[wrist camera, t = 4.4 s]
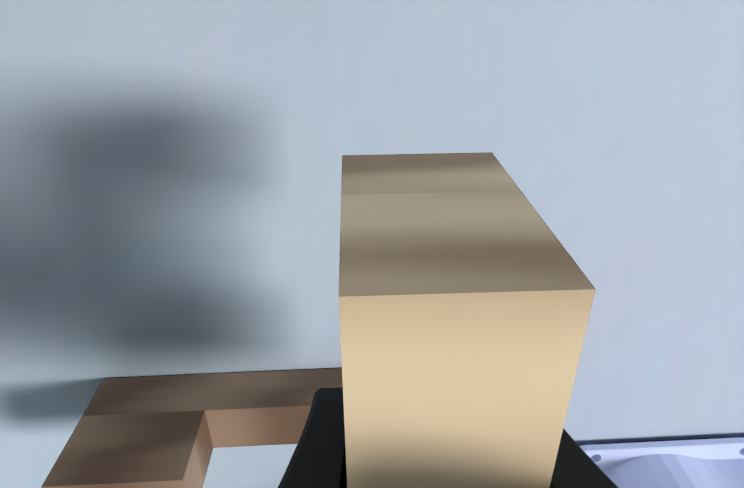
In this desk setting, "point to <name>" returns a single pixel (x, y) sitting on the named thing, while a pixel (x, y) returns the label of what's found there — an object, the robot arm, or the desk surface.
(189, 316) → the desk surface
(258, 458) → the desk surface
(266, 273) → the desk surface
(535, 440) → the oak block
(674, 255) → the desk surface
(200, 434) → the walnut u-shaped block
